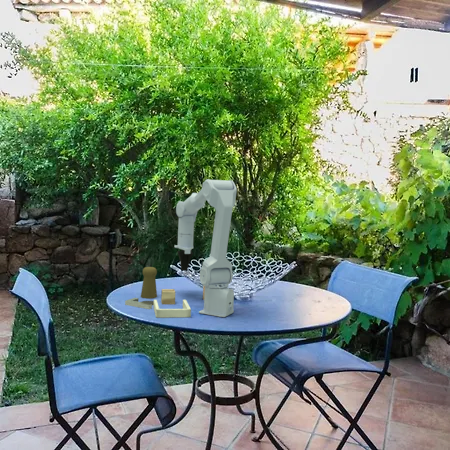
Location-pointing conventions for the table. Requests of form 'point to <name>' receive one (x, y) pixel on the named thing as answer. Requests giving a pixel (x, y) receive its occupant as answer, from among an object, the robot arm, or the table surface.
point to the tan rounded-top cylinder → (203, 292)
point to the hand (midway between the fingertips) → (184, 270)
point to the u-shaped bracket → (172, 311)
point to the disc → (148, 302)
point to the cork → (149, 283)
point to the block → (168, 296)
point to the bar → (138, 303)
